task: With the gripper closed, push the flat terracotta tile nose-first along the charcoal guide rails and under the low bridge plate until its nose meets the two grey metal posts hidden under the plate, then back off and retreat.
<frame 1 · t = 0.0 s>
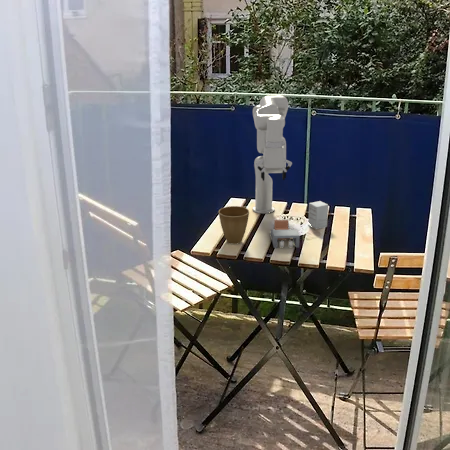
hand: (273, 179, 269), 31 cm above the table, tool pointing down, fingers open, 9 cm apart
tile: (282, 235, 286), on the table
bridge: (284, 240, 279), on the table
plant pot: (233, 241, 279), on the table
supplement box: (317, 226, 297), on the table
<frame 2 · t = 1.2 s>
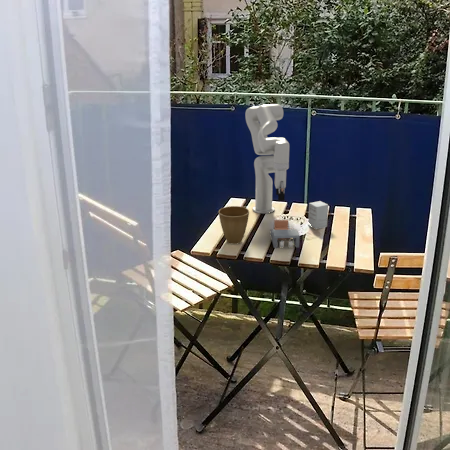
hand: (280, 197, 291), 16 cm above the table, tool pointing down, fingers open, 9 cm apart
nothing on the table moved.
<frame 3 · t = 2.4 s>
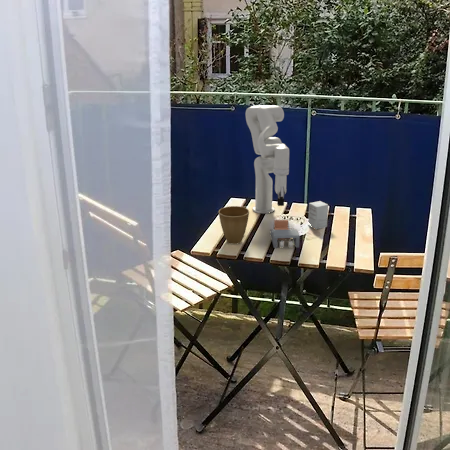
hand: (280, 205, 292), 12 cm above the table, tool pointing down, fingers closed
nothing on the table moved.
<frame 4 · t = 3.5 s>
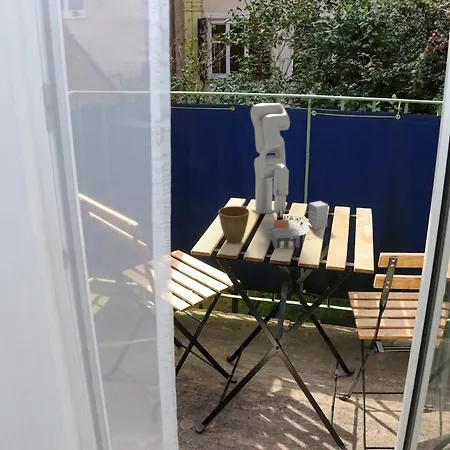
hand: (279, 224, 296), 1 cm above the table, tool pointing down, fingers closed
nothing on the table moved.
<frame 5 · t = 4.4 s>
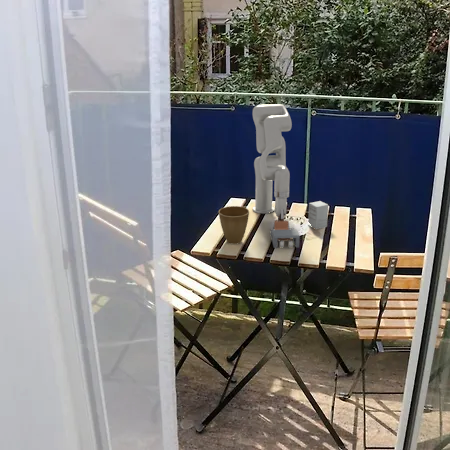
hand: (280, 227, 293), 1 cm above the table, tool pointing down, fingers closed
tile: (282, 236, 285), on the table, touching gripper
everything else where it was.
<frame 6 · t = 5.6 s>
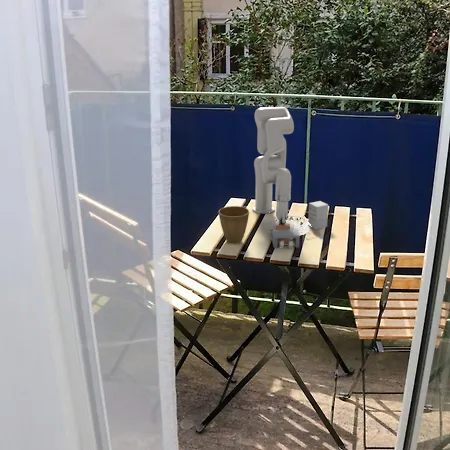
hand: (281, 230, 288), 1 cm above the table, tool pointing down, fingers closed
tile: (283, 240, 280), on the table, touching gripper
everything else where it was.
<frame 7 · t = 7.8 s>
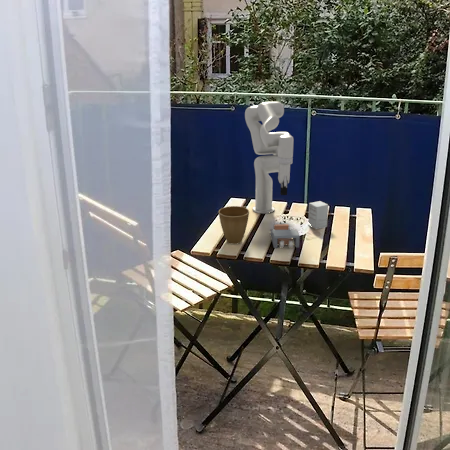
hand: (283, 194, 289), 18 cm above the table, tool pointing down, fingers closed
tile: (282, 240, 280), on the table
everything else where it was.
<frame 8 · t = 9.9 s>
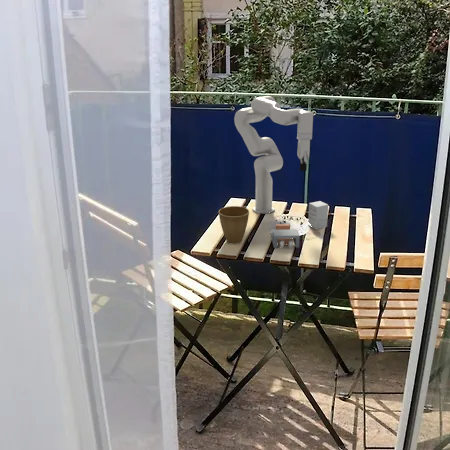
hand: (303, 170, 291), 29 cm above the table, tool pointing down, fingers closed
nothing on the table moved.
at the end: tile 1.3 cm from the target spot, on the table; tile tilted 0° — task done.
